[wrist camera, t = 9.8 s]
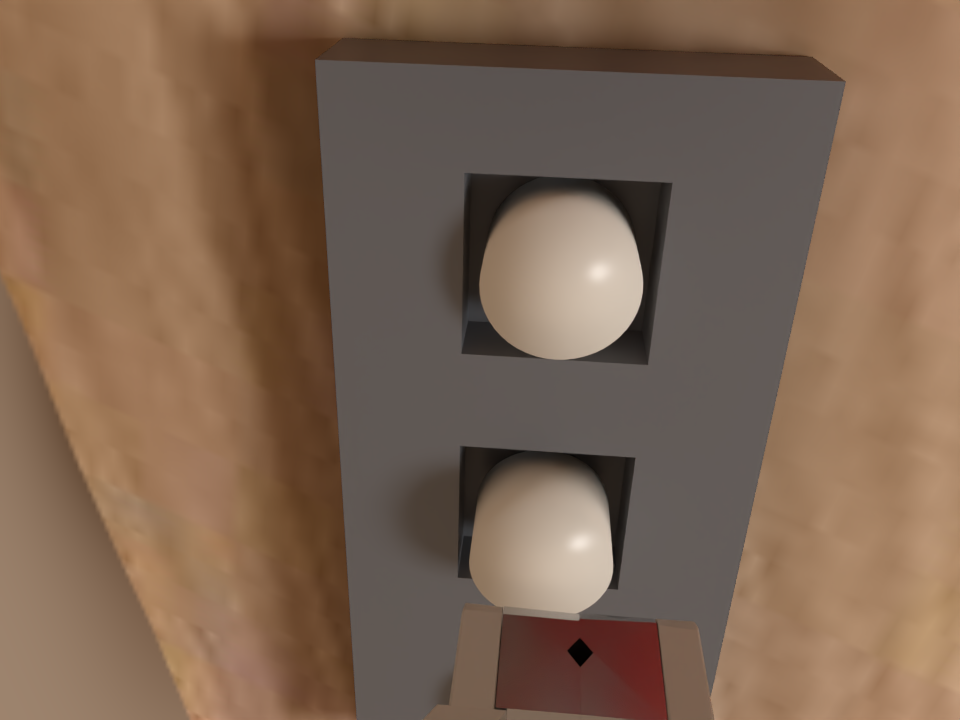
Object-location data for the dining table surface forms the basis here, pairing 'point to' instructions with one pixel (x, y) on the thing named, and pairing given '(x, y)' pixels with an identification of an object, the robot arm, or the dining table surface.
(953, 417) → the dining table surface
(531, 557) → the button middle
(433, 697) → the button panel
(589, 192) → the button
